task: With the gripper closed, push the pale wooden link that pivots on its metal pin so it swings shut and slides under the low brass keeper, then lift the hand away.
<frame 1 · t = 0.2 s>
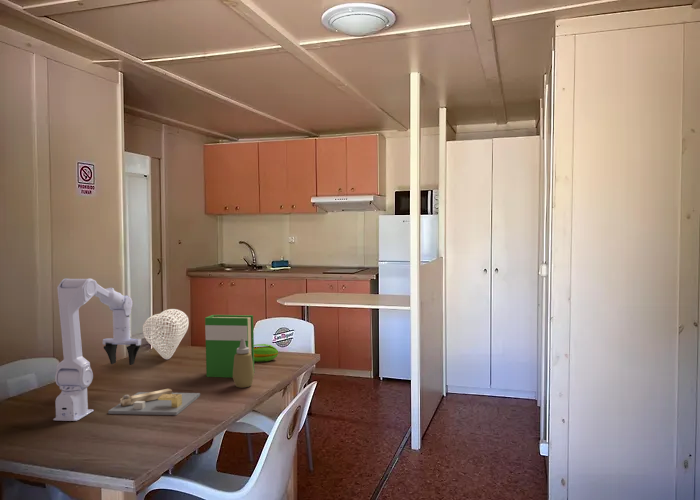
hand: (122, 363, 199), 10 cm above the table, tool pointing down, fingers open, 7 cm apart
base plate: (156, 404, 182), on the table
squeeze bottle: (243, 386, 203), on the table
pencil case: (256, 361, 242), on the table
link: (146, 395, 183), point 3 cm above the table, hinge at 45.0°
hardback book: (230, 375, 219), on the table
heart: (167, 359, 247), on the table
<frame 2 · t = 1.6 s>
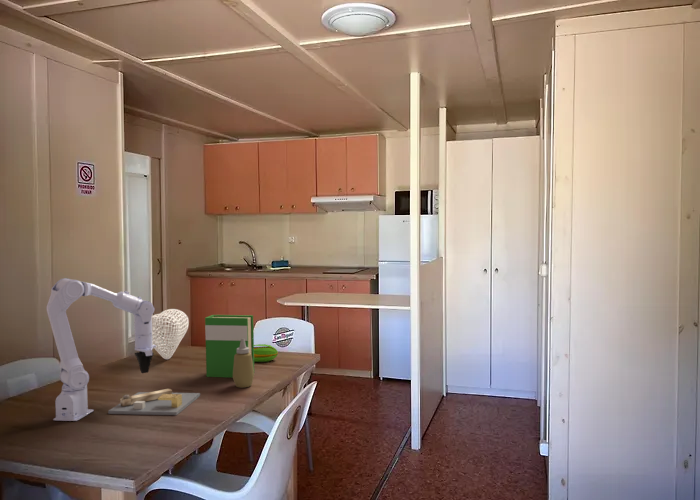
hand: (144, 372, 188), 9 cm above the table, tool pointing down, fingers closed
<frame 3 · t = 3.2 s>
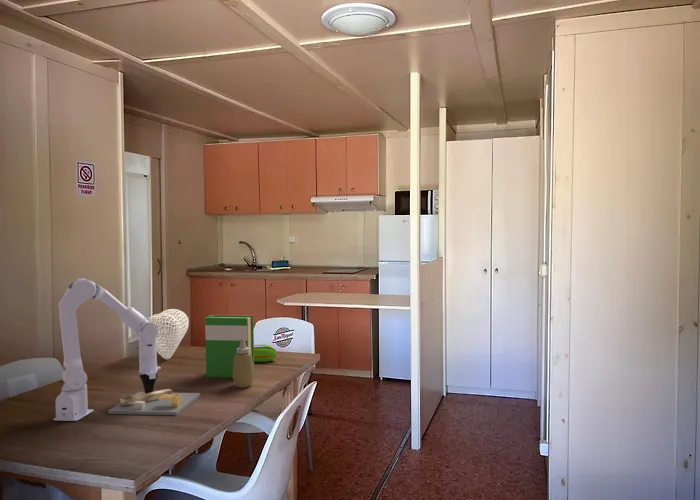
hand: (149, 394, 186), 2 cm above the table, tool pointing down, fingers closed, pressing on link
link: (146, 395, 183), point 3 cm above the table, hinge at 44.3°, touching gripper
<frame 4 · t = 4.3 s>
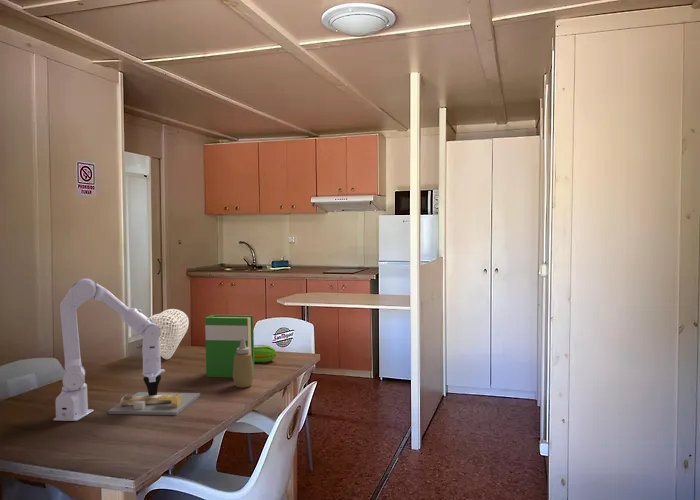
hand: (152, 397, 183), 2 cm above the table, tool pointing down, fingers closed, pressing on link
link: (147, 398, 180), point 3 cm above the table, hinge at 16.7°, touching gripper
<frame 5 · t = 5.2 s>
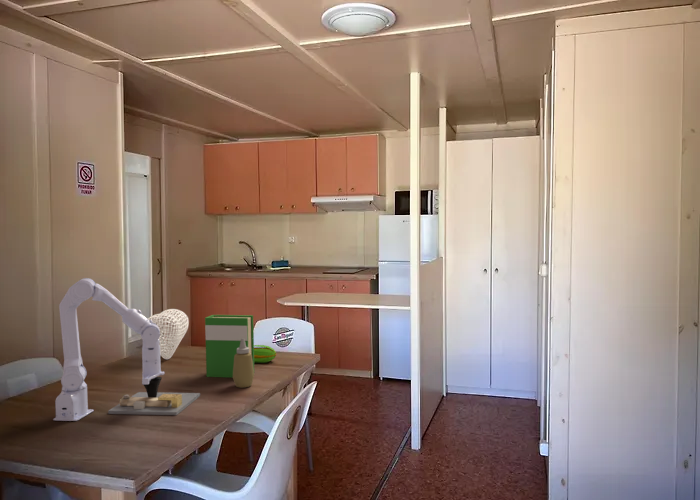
hand: (152, 399, 181), 2 cm above the table, tool pointing down, fingers closed
link: (145, 400, 178), point 3 cm above the table, hinge at -0.6°, touching gripper
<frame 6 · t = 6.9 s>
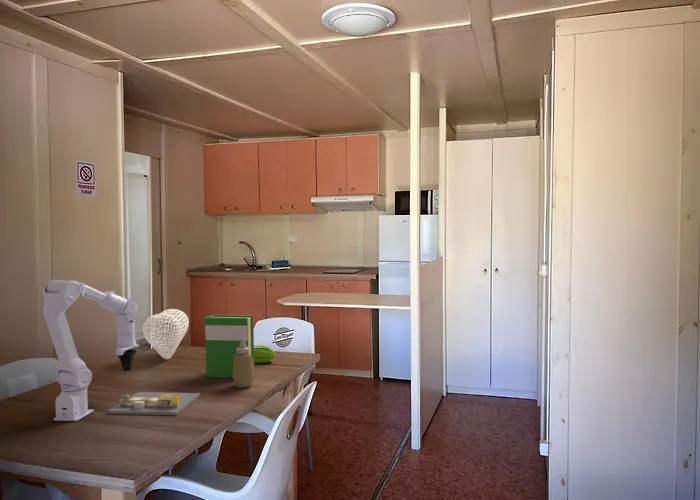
hand: (127, 370, 191), 9 cm above the table, tool pointing down, fingers closed
link: (145, 400, 178), point 3 cm above the table, hinge at -0.8°
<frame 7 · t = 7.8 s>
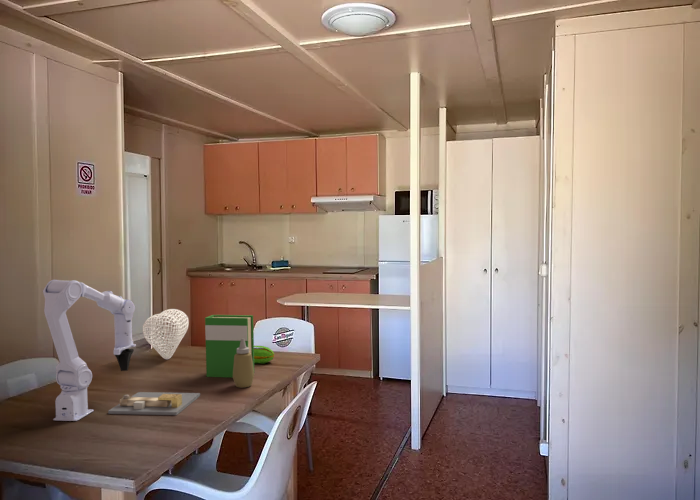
hand: (124, 370, 192), 9 cm above the table, tool pointing down, fingers closed
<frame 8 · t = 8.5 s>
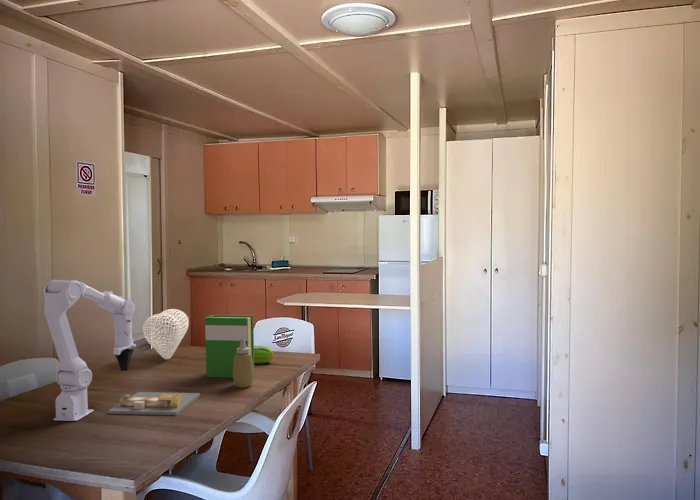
hand: (124, 370, 192), 9 cm above the table, tool pointing down, fingers closed
at the end: link at -1° (first picture: +45°); squeeze bottle moved 0.2 cm from its start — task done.
